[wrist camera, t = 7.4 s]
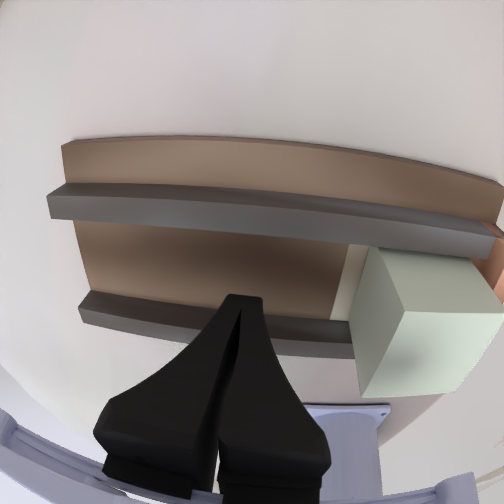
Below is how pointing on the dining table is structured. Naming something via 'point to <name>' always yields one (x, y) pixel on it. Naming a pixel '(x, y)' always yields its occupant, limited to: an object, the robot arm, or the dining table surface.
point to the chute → (258, 230)
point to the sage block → (420, 322)
